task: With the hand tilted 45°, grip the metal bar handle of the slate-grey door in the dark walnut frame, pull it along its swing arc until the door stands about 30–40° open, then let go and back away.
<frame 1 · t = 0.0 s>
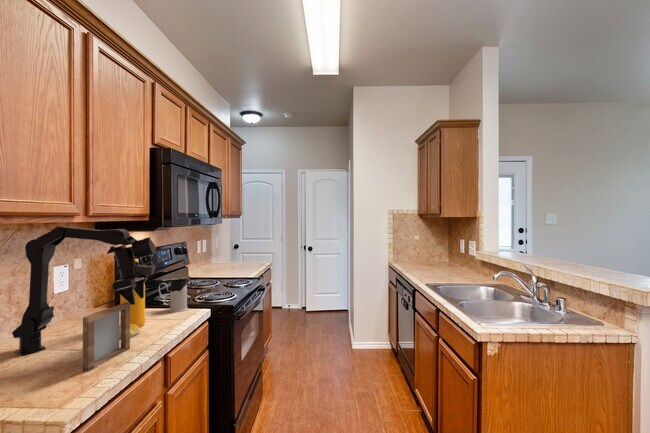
hand: (138, 301, 120), 16 cm above the countertop, tool pointing down, fingers open, 9 cm apart
door frame: (104, 358, 106), on the countertop
bread roll: (127, 335, 127), on the countertop
door: (97, 335, 107), point 8 cm above the countertop, hinge at 0.0°
grey cylinder with handle: (173, 310, 161), on the countertop
beer bottle: (132, 326, 137), on the countertop
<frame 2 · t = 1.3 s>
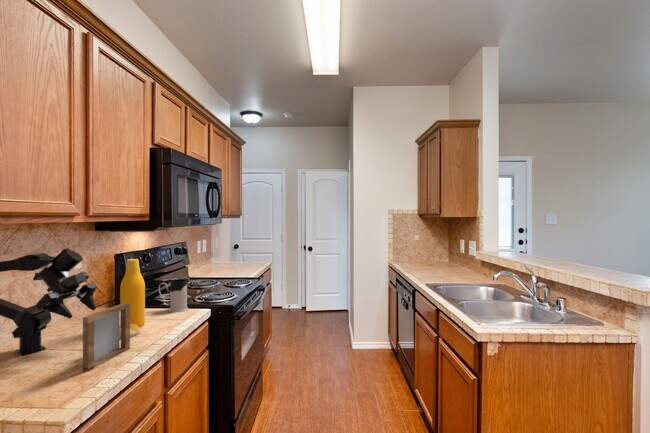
hand: (83, 313, 112), 13 cm above the countertop, tool tilted 45°, fingers open, 9 cm apart
nothing on the countertop moved.
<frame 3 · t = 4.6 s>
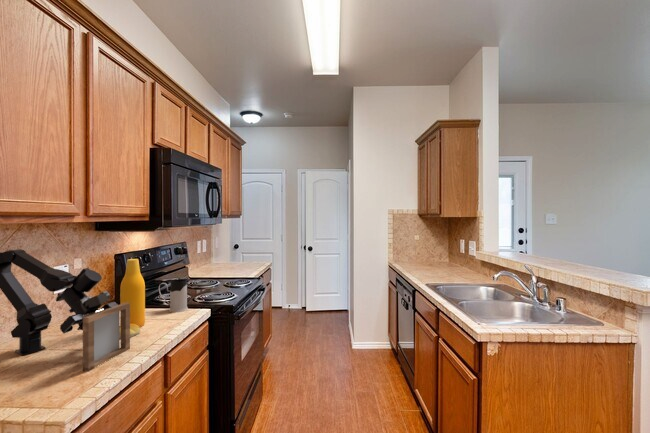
hand: (106, 334, 111), 7 cm above the countertop, tool tilted 45°, fingers closed on door, 2 cm apart
door: (97, 335, 107), point 8 cm above the countertop, hinge at 0.0°, touching gripper
everything else where it was.
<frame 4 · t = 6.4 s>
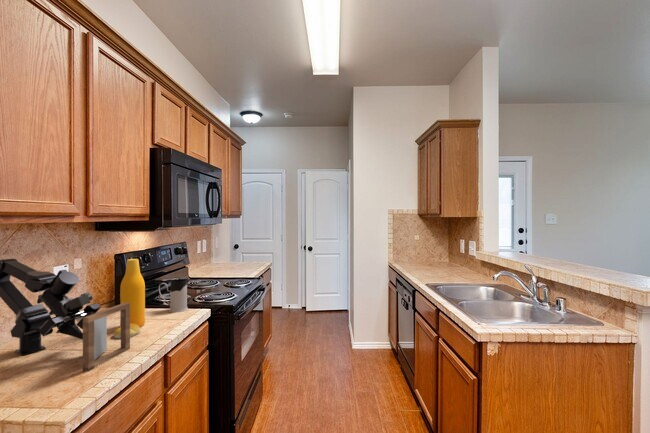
hand: (88, 336, 108), 7 cm above the countertop, tool tilted 45°, fingers open, 3 cm apart
door: (88, 336, 106), point 8 cm above the countertop, hinge at 20.0°, touching gripper
everything else where it was.
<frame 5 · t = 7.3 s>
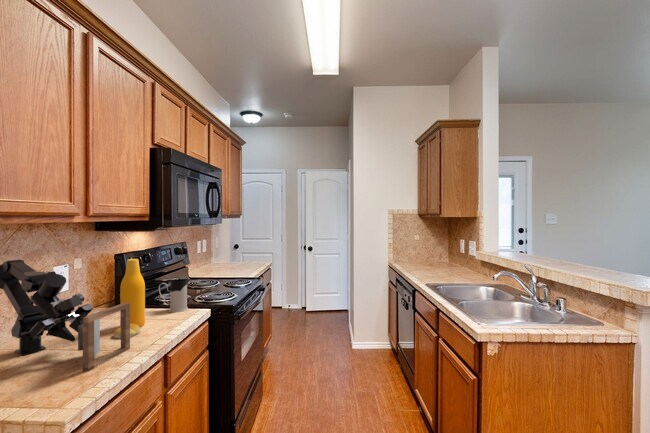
hand: (80, 337, 107), 7 cm above the countertop, tool tilted 45°, fingers open, 4 cm apart
door: (84, 337, 105), point 8 cm above the countertop, hinge at 29.5°, touching gripper
everything else where it was.
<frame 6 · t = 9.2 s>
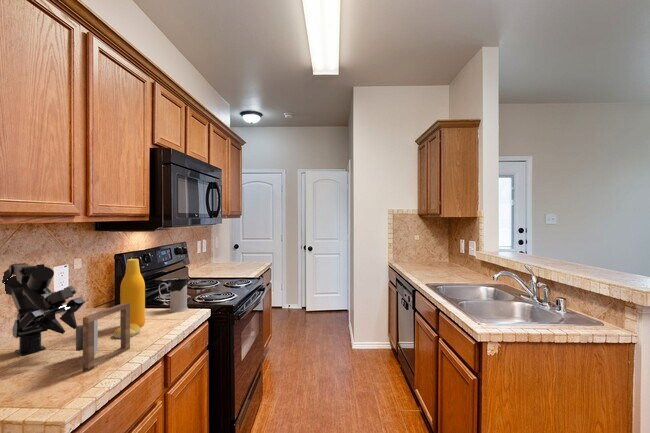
hand: (70, 330, 107), 9 cm above the countertop, tool tilted 45°, fingers open, 4 cm apart
door: (82, 338, 105), point 8 cm above the countertop, hinge at 32.3°
everything else where it was.
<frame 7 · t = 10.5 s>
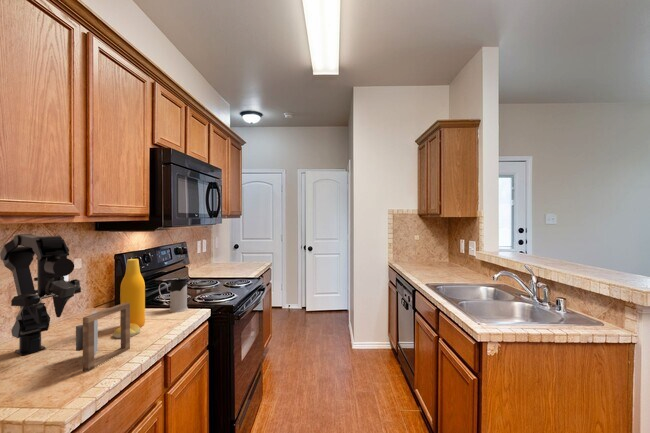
hand: (49, 320, 106), 13 cm above the countertop, tool pointing down, fingers open, 6 cm apart
nothing on the countertop moved.
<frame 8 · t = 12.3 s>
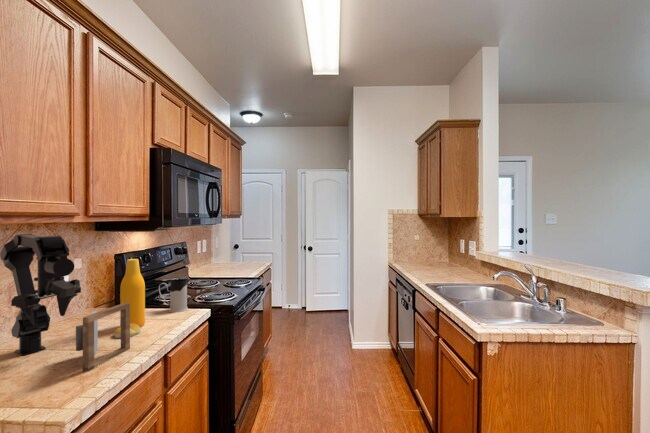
hand: (49, 320, 106), 13 cm above the countertop, tool pointing down, fingers open, 9 cm apart
nothing on the countertop moved.
at the end: door at +32° (first picture: +0°); the gripper is holding nothing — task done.
